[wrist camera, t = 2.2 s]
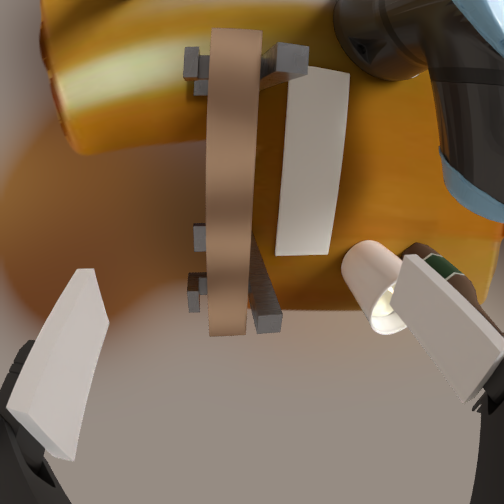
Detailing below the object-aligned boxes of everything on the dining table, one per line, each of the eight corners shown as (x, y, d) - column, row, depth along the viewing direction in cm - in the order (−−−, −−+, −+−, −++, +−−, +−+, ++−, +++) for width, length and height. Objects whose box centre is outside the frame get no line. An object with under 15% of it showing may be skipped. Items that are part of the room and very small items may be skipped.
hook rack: (193, 67, 29) (181, 27, 13) (259, 69, 30) (309, 35, 14) (193, 248, 40) (188, 343, 24) (249, 247, 41) (279, 338, 25)
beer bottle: (393, 283, 48) (472, 378, 27) (398, 245, 45) (494, 337, 24) (425, 273, 49) (504, 356, 28) (431, 237, 45) (525, 316, 24)
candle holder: (397, 243, 44) (440, 282, 34) (371, 292, 48) (405, 337, 38) (353, 227, 42) (395, 268, 31) (325, 282, 46) (357, 332, 35)
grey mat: (289, 63, 30) (290, 63, 30) (348, 74, 31) (350, 73, 31) (274, 254, 42) (275, 255, 41) (326, 252, 43) (327, 254, 43)
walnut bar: (210, 44, 18) (211, 27, 14) (251, 46, 19) (262, 30, 15) (207, 302, 29) (209, 336, 25) (239, 301, 30) (245, 334, 25)
